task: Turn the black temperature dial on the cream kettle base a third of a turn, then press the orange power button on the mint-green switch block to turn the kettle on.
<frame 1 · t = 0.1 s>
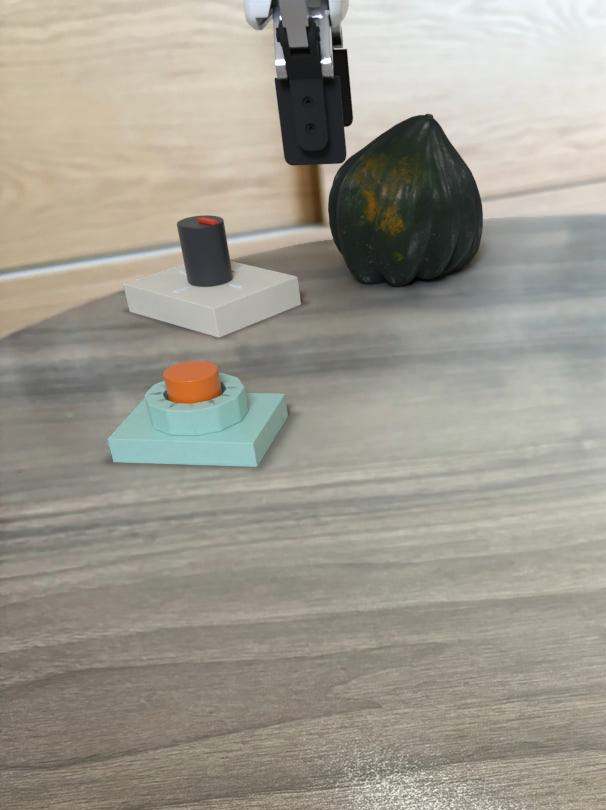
hand: (322, 143, 58), 20 cm above the table, tool pointing down, fingers open, 9 cm apart
squash: (409, 277, 102), on the table
power button: (193, 383, 70), point 5 cm above the table, slide at 0.2 cm
switch block: (205, 444, 72), on the table
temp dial: (205, 249, 91), point 6 cm above the table, hinge at 0.0°
kettle base: (216, 313, 94), on the table
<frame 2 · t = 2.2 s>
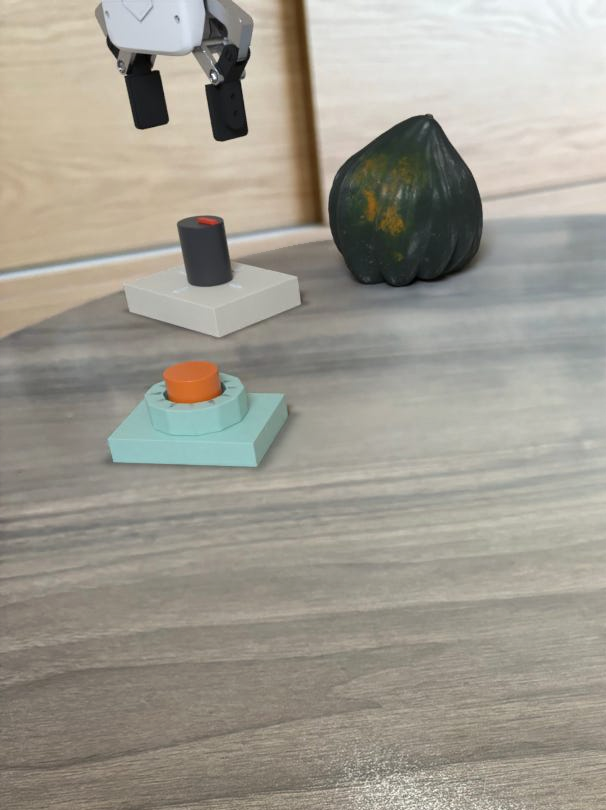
hand: (191, 132, 84), 15 cm above the table, tool pointing down, fingers open, 9 cm apart
nothing on the table moved.
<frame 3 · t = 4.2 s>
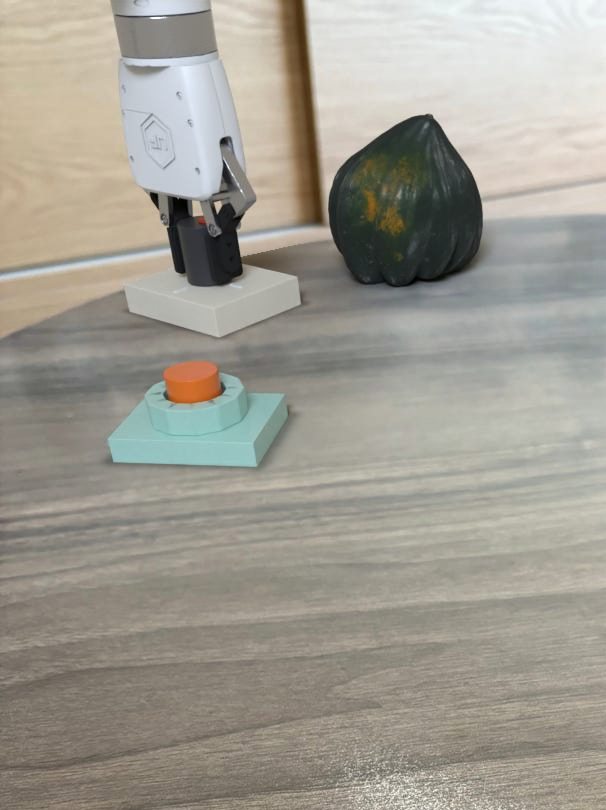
hand: (209, 272, 92), 4 cm above the table, tool pointing down, fingers closed on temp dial, 4 cm apart
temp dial: (205, 249, 91), point 6 cm above the table, hinge at -0.1°, touching gripper
everything else where it was.
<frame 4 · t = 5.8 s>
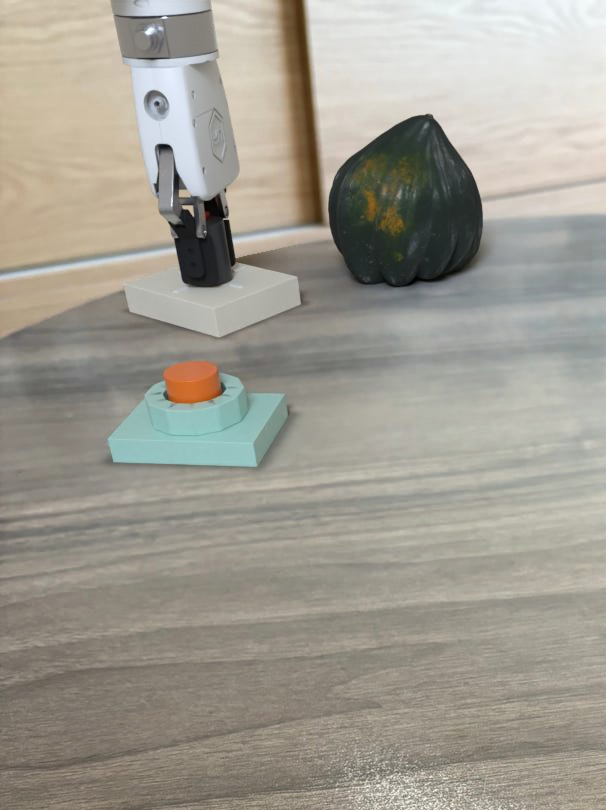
hand: (209, 272, 92), 4 cm above the table, tool pointing down, fingers closed on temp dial, 4 cm apart
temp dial: (205, 249, 91), point 6 cm above the table, hinge at 121.2°, touching gripper
everything else where it was.
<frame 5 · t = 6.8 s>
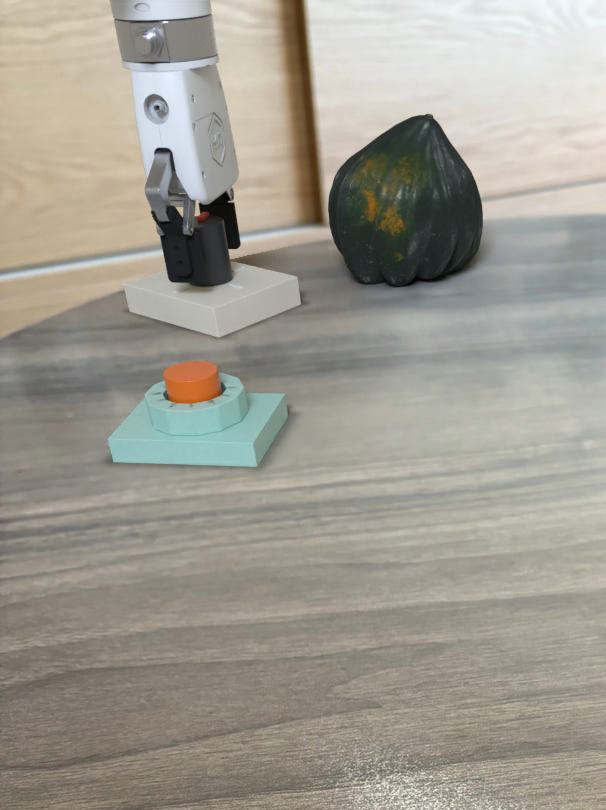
hand: (206, 264, 91), 4 cm above the table, tool pointing down, fingers open, 9 cm apart
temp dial: (205, 249, 91), point 6 cm above the table, hinge at 123.1°
everything else where it was.
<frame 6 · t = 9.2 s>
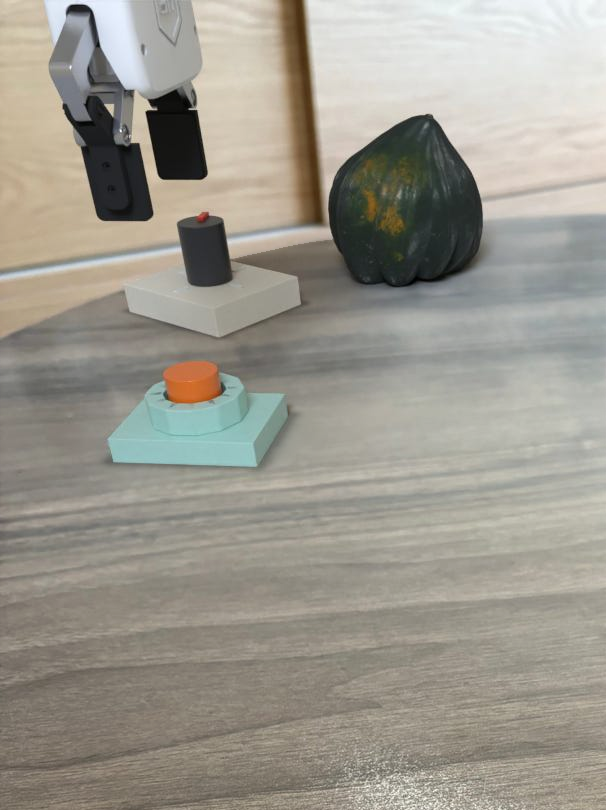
hand: (156, 198, 63), 16 cm above the table, tool pointing down, fingers open, 9 cm apart
nothing on the table moved.
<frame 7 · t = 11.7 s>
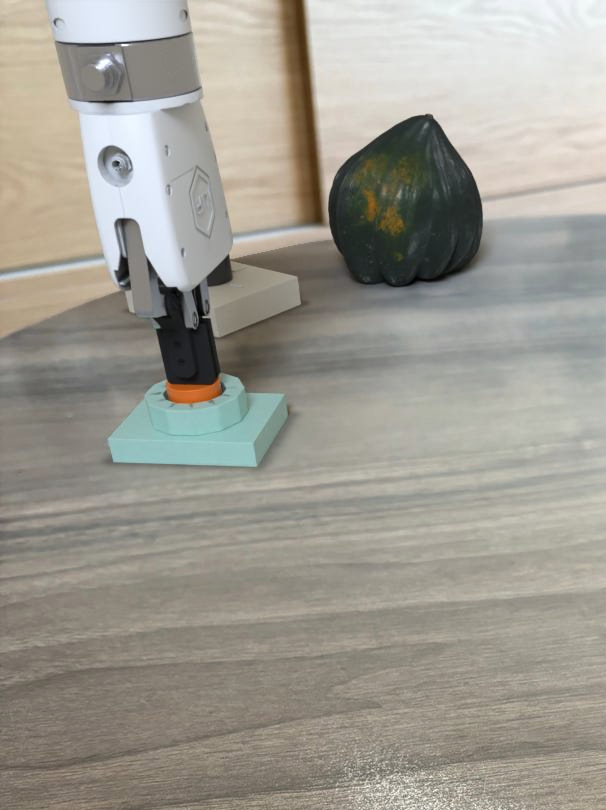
hand: (194, 379, 69), 5 cm above the table, tool pointing down, fingers closed
power button: (194, 392, 70), point 4 cm above the table, slide at -0.5 cm, touching gripper
everything else where it was.
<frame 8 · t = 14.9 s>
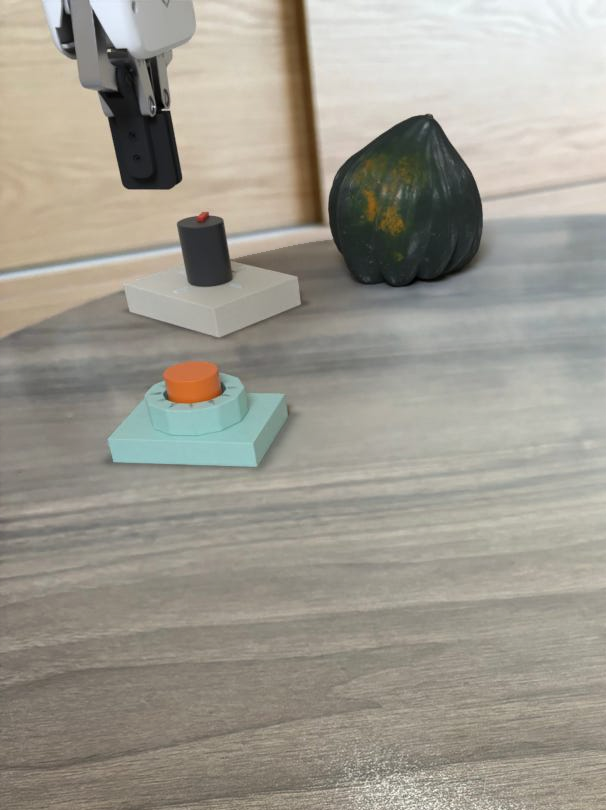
hand: (153, 185, 62), 17 cm above the table, tool pointing down, fingers closed
power button: (193, 383, 70), point 5 cm above the table, slide at 0.1 cm
everything else where it was.
at the end: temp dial at +123° (first picture: +0°); power button pushed in 1.1 cm at the most during the clip, back to where it started at the end; power button slide at 0.1 cm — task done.
